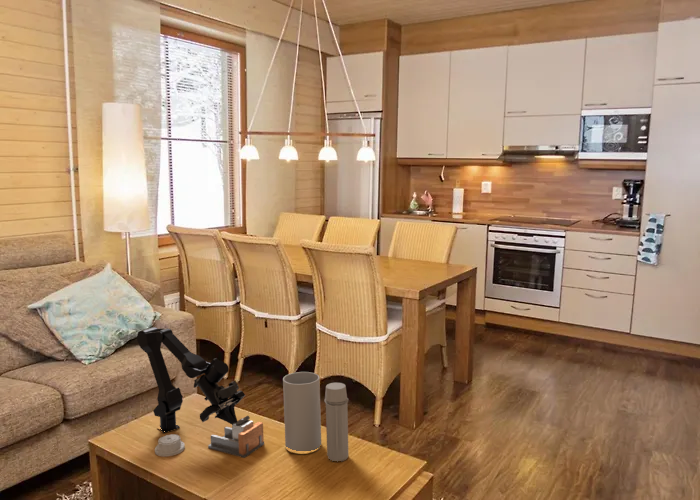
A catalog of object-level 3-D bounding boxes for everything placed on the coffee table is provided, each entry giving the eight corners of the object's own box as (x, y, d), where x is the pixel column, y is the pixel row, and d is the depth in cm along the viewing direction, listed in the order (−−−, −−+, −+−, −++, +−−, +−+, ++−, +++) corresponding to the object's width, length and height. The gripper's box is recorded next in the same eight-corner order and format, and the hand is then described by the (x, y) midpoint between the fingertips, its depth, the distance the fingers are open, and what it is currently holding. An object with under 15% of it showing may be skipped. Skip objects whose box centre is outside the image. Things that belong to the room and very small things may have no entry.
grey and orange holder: (208, 448, 196) (207, 426, 196) (229, 435, 206) (228, 414, 205) (244, 457, 189) (243, 435, 188) (264, 444, 198) (263, 422, 198)
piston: (232, 446, 194) (231, 420, 193) (243, 439, 200) (242, 414, 198) (243, 449, 192) (242, 423, 191) (254, 442, 197) (253, 416, 196)
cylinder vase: (328, 443, 198) (326, 375, 195) (307, 458, 187) (305, 386, 184) (299, 436, 204) (297, 369, 201) (278, 450, 194) (275, 380, 191)
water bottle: (326, 452, 191) (324, 382, 188) (349, 452, 191) (347, 381, 188) (325, 466, 182) (323, 392, 179) (349, 465, 182) (348, 391, 179)
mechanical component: (149, 456, 192) (175, 458, 190) (148, 443, 192) (174, 446, 189) (164, 442, 202) (190, 445, 200) (163, 431, 201) (189, 433, 199)
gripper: (204, 385, 189) (231, 423, 185) (240, 368, 205) (265, 403, 201) (188, 403, 193) (213, 440, 189) (224, 386, 210) (248, 419, 206)
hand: (236, 425), depth 196 cm, fingers closed, pressing on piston
